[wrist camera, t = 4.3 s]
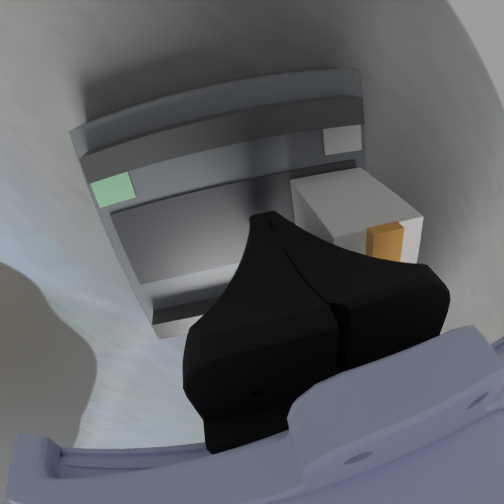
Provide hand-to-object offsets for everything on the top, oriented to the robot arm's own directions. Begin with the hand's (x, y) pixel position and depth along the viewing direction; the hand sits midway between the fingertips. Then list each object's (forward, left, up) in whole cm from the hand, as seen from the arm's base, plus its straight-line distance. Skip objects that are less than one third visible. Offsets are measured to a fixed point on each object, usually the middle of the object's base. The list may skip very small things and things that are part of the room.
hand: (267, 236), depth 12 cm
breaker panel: (0, +1, -3) cm, 3 cm away
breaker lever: (0, -3, -1) cm, 3 cm away
